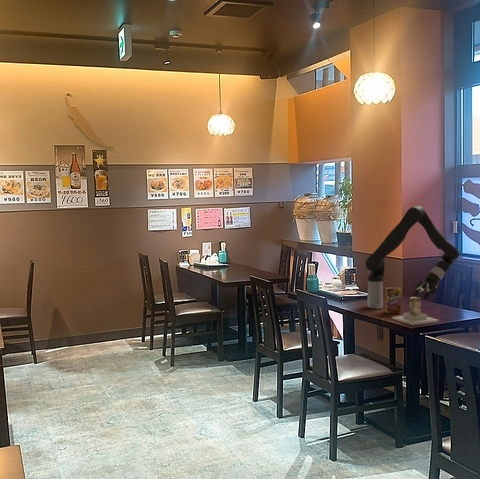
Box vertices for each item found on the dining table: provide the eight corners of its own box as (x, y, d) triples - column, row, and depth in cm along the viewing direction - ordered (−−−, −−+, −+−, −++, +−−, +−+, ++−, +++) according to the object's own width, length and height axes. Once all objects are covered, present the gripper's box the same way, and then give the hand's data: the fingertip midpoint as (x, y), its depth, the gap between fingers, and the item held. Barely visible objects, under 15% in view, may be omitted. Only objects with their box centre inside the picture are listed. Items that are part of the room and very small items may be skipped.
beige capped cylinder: (409, 317, 333) (409, 297, 332) (415, 317, 335) (415, 296, 334) (414, 319, 329) (415, 298, 328) (420, 318, 331) (420, 297, 330)
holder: (392, 319, 337) (392, 312, 336) (417, 315, 344) (417, 309, 343) (412, 325, 320) (412, 318, 320) (438, 321, 327) (438, 315, 327)
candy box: (385, 313, 354) (385, 288, 353) (385, 311, 358) (385, 287, 357) (400, 313, 352) (401, 288, 351) (400, 311, 357) (400, 287, 355)
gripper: (423, 270, 341) (407, 291, 337) (440, 273, 328) (423, 295, 324) (430, 278, 343) (414, 299, 340) (447, 281, 330) (431, 303, 327)
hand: (419, 297), depth 332 cm, fingers open, 8 cm apart
